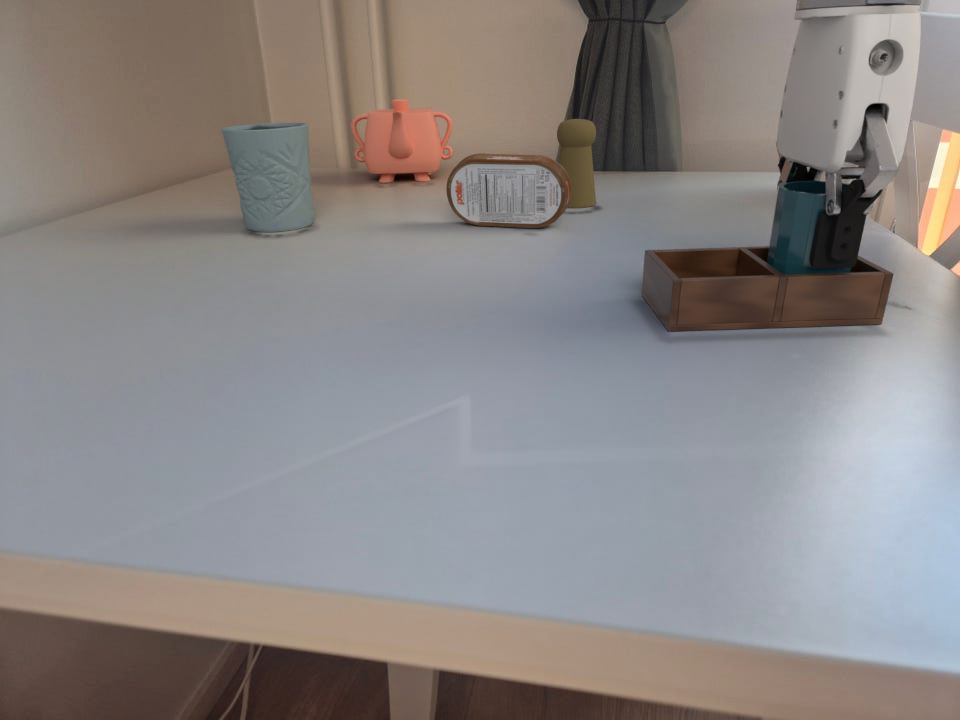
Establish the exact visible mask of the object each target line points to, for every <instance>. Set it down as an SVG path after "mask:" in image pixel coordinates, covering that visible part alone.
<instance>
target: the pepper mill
mask: <svg viewBox="0 0 960 720" xmlns="http://www.w3.org/2000/svg"><path fill="white" fill-rule="evenodd" d="M556 138H557V142H558V143H559V146H560V149H559V156H558V161H557V162H558V163H559V164H560V165H561V166H562V167H563V168H564V169H565V171H566V172H567V174H568V176H569V179H570V182H571V199H570V202H569V205H568V207H567V208H566V209H568V208H569V209H580V208H581V209H582V208H590V207H593V206H596V204H597V196H596V185H595V172H594V162H593V160H594V159H593V151H592V148H593V147H592V145H593V144H594V142H595V141H596V138H597V127H596V124H594V122H593V121H591V120H589V119H584V118H583V119H582V118H571V119H566V120H563V121H561V122H560V123H559V125H558V126H557V130H556Z"/></svg>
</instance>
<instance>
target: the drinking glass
mask: <svg viewBox="0 0 960 720" xmlns="http://www.w3.org/2000/svg"><path fill="white" fill-rule="evenodd" d="M221 133H222V136H223V140H224V143H225V147H226V151H227V154H228V159H229V162H230V167H231V170H232V172H233V174H234V180H235V185H236V189H237V193H238V196H239V206H240V210H241V213H242V218H243V221H244V226H245V229H247V230H249V231H253V232H259V233H278V232H290V231H294V230H300V229H303V228H306V227H309V226H311V225H313V224H314V221H315V210H314V198H313V194H312V178H311V170H310V169H311V168H310V165H311V164H310V162H311V157H310V137H309V124H308V123H306V122H268V123H251V124H249V123H248V124H238V125H232V126H226V127H223V128H222V129H221Z"/></svg>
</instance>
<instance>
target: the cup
mask: <svg viewBox="0 0 960 720" xmlns="http://www.w3.org/2000/svg"><path fill="white" fill-rule="evenodd" d="M849 184H850V182H849V183H848V182H842V192H843V191H844V190H845V189H846V187H847V186H848V185H849ZM819 213H826V192H825V180H820V181H813V180H808V181H791V182H784V183H782V184H779V185H778V191H777V192H776V198H775V204H774V211H773V218H772V224H771V230H770V235H769V243H768V246H769V248H768V255H767V261H766V263H768V264H769V265H771V266H772V267H774V268H775V269H776V270H778V271H779V272H781V273H782V274H784V275H794V274H825V273H850V271H851V268H824V269H816V268H814V267H812V266H811V265H810V258H811V253H812V247H813V242H814V236H815V231H816V226H817V220H818V215H819Z"/></svg>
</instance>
